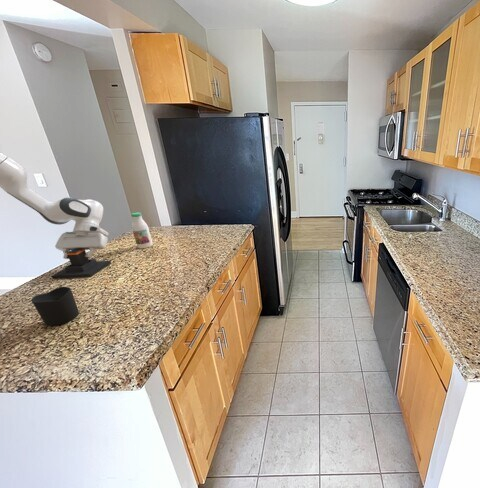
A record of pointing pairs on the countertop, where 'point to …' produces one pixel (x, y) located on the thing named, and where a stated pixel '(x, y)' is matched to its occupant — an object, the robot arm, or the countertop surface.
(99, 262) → the connector base
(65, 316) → the pen holder
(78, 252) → the black orange block
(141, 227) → the milk bottle
